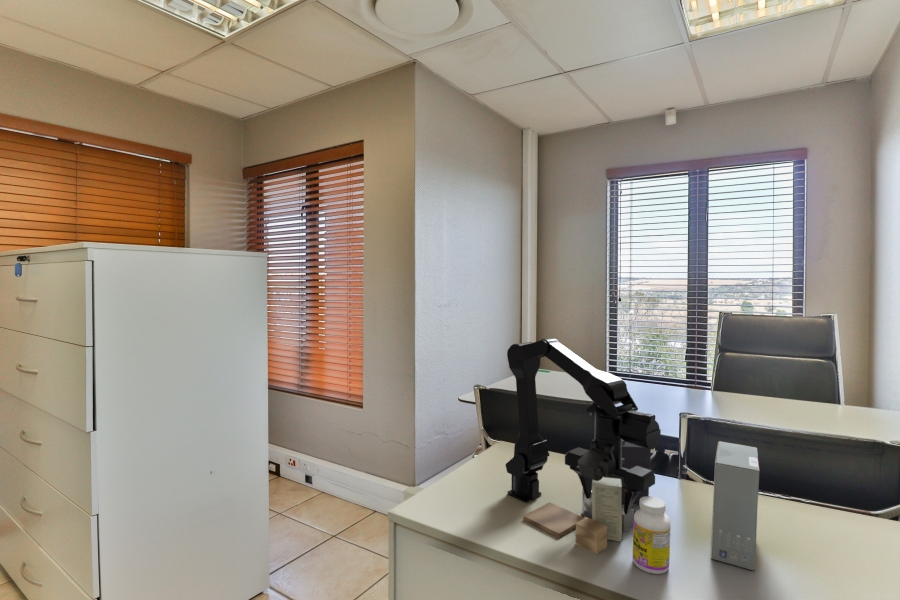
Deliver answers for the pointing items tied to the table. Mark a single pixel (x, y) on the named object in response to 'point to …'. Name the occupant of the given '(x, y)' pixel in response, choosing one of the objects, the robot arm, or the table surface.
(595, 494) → the skincare box
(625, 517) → the gray cube
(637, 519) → the supplement bottle
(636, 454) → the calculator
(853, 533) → the table surface
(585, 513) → the metal canister
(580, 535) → the oak block
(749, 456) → the hard drive box
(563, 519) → the walnut board
